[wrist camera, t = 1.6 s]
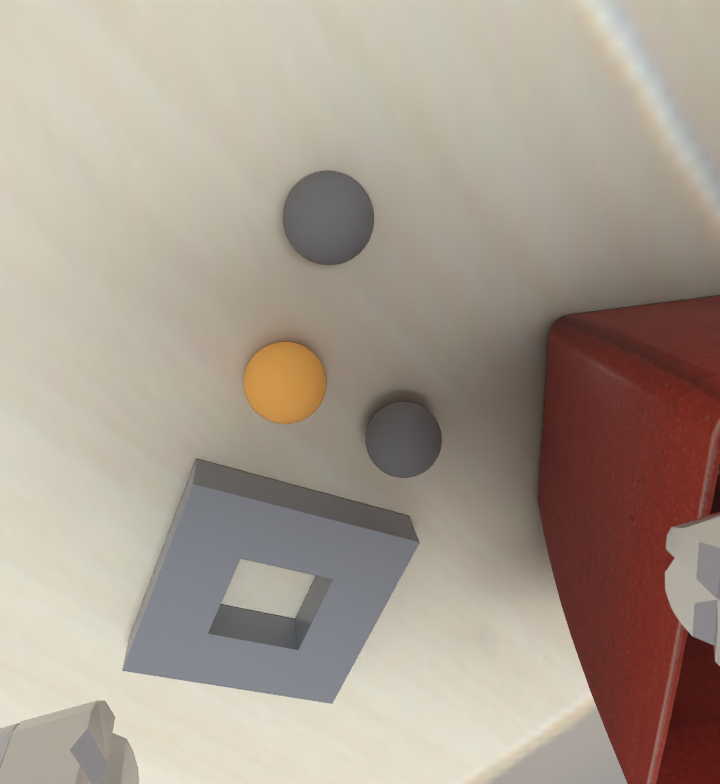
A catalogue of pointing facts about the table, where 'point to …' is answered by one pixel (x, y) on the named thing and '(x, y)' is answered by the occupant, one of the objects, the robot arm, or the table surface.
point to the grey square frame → (277, 548)
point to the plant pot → (635, 521)
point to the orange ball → (285, 382)
